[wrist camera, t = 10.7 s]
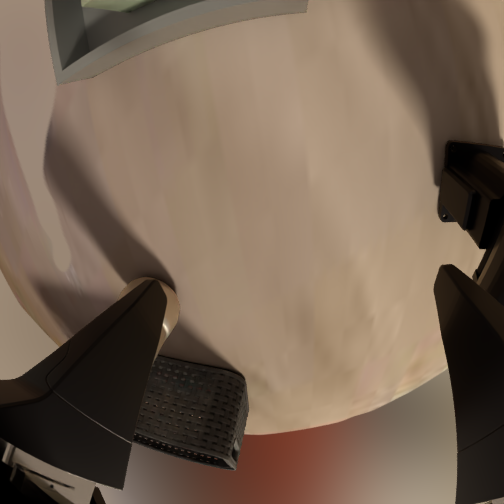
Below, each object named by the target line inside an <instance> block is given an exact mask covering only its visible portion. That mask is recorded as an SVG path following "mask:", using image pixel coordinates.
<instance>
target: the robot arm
mask: <svg viewBox="0 0 504 504" xmlns="http://www.w3.org/2000/svg"><path fill="white" fill-rule="evenodd" d="M452 145H454V149H453V150H451V147H452ZM503 152H504V148H503V147H500V146H494V145H487V144H480V143H472V142H463V141H453V140H451V141H448V142H447V144H446V151H445V166H444V169H443V173H442V183H441V191H440V208H439V218H440V220H441V221H442V222H457V223H458V224H459V225H460V227H461V228H462V229H463V230H464V231H465V230H466V231H467V232H468V233H469V235H470V236H471V237H472V239H473V240H474V242H475V243H476V244H477V246H478V247H479V249H486V251H485V254H484V256H483V258H482V260H481V262H480V264H479V267H478V269H476V270H475V272H474V274H473V276H472V278H473V280H472V279H471V278H469V277H468V276H467V275H466V274H464V273H463V272H462V271H461V270H459V269H458V268H457V267H455V266H454V265H452V264H447V265H441V266H440V268H439V271H438V274H437V277H436V281H435V284H434V295H435V300H436V306H437V311H438V317H439V324H440V330H441V336H442V340H443V345H444V349H445V354H446V359H447V363H448V369H449V374H450V380H451V386H452V393H453V401H454V409H455V417H456V432H457V452H458V453H457V489H456V502H455V504H476V503H481V502H486V501H489V502H487V503H485V504H504V154H503ZM502 154H503V156H502ZM444 214H446V216H444V217H443V215H444ZM166 307H167V296H166V294H165V292H164V290H163V288H162V286H161V284H160V282H159V281H158V280H157V279H147V280H145V281H143V282H142V283H141V284H139V285H138V286H137V287H135V288H134V289H133V290H131V291H130V292H129V293H127V294H126V295H125V296H123V297H122V298H121V299H120V300H118V301H117V302H116V303H114V304H113V305H112V306H111V307H109V308H108V309H107V310H105V311H104V312H103V313H102V314H100V315H99V316H98V317H96V318H95V319H94V320H93V321H91V322H90V323H89V324H88V325H86V326H85V327H84V328H83V329H81V330H80V331H79V332H78V333H77V334H75V335H74V336H73V337H72V338H71V339H69V340H68V341H67V342H66V343H64V344H63V345H62V346H61V347H59V348H58V349H57V350H56V351H54V352H53V353H52V354H50V355H49V356H48V357H46V358H45V359H44V360H42V361H41V362H40V363H38V364H37V365H36V366H34V367H33V368H32V369H30V370H29V371H28V372H26V373H25V374H23V375H22V376H20V377H18V378H16V379H11V380H0V504H106V503H105V501H104V499H103V497H102V495H101V492H100V490H99V488H98V487H96V486H95V485H96V483H98V484H101V485H104V486H108V487H111V488H114V489H118V490H123V487H124V481H125V476H126V471H127V466H128V461H129V456H130V451H131V447H132V442H133V438H134V433H135V429H136V425H137V421H138V417H139V413H140V409H141V405H142V401H143V397H144V393H145V390H146V386H147V382H148V379H149V375H150V372H151V368H152V365H153V361H154V358H155V354H156V351H157V348H158V344H159V340H160V336H161V331H162V326H163V321H164V316H165V312H166Z"/></svg>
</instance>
